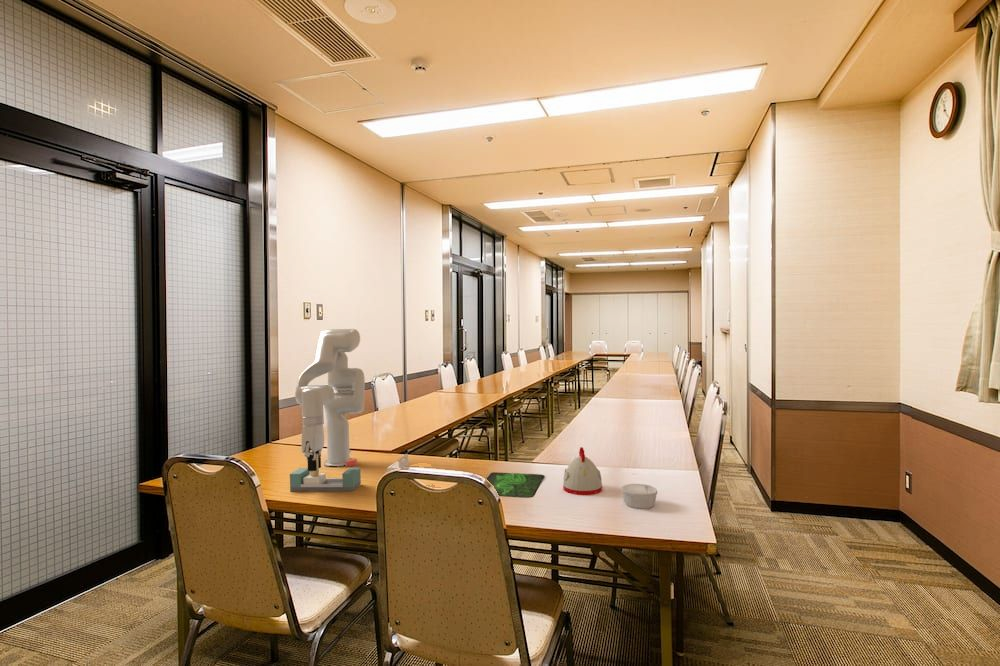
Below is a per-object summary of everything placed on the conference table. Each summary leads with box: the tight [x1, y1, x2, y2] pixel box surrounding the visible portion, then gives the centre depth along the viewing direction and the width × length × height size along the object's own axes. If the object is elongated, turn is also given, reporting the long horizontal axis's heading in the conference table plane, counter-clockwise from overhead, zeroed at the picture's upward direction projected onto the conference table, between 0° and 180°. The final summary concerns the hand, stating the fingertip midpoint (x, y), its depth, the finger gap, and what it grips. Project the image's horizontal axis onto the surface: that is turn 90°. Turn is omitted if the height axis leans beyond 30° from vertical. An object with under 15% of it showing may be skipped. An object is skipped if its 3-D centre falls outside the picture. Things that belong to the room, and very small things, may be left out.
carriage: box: [303, 453, 327, 484], centre depth 192 cm, size 6×6×11 cm
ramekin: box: [621, 483, 658, 510], centre depth 166 cm, size 11×11×5 cm
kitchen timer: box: [563, 446, 603, 496], centre depth 183 cm, size 14×14×15 cm
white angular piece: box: [386, 453, 410, 473], centre depth 179 cm, size 9×5×15 cm, turn 168°
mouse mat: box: [485, 471, 545, 499], centre depth 190 cm, size 27×22×1 cm
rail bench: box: [289, 467, 362, 492], centre depth 192 cm, size 8×24×6 cm, turn 86°
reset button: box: [345, 458, 358, 468], centre depth 191 cm, size 4×4×2 cm
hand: (314, 468), depth 192 cm, fingers closed on carriage, 3 cm apart
